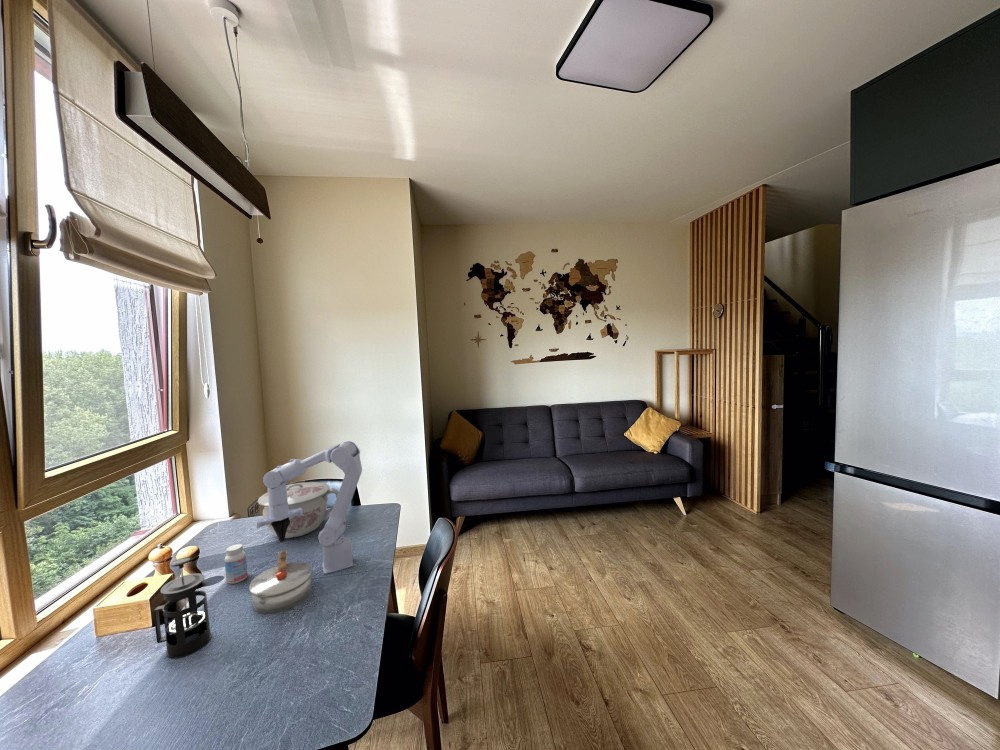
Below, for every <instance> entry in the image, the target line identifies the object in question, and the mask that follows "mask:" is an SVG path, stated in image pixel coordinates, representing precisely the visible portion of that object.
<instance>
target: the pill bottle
mask: <svg viewBox="0 0 1000 750" xmlns="http://www.w3.org/2000/svg"><path fill="white" fill-rule="evenodd" d="M243 549H244V547H243V544H241V543H236V544H233V545H231V546H228V547H227V548H226V549H225V552H226V553H225V554H226V556H225V557H224V569H225V570H224V571H225V581H226V583H227V584H232V585H233V584H238V583H240V582H243V581H244V580H246V579H247V578H248V575H249V574H248V571H249V570H248V562H247V553H246V552H245V551H244V550H243Z"/></svg>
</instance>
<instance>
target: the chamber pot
mask: <svg viewBox="0 0 1000 750" xmlns="http://www.w3.org/2000/svg"><path fill="white" fill-rule="evenodd" d="M286 488H287V500H288V511H289V510H294V509H298V508H301V509H302V511H303V514H302V515H297V516H294V517H290V518H289V520H290V524H289V526H288V528H287V531H286V535H285V539H291V538H292V539H294V538H298V537H302V536H305V535H308V534H309V533H312V532H314V531H315V530H316V529H318V528H319V526H320V525H321V524H322V522H324V520H325V519H326V518H327V516H328V515H329V514H331V513H332V510H333V507H334V504H333V505H332V506H331V507H330V508H328V500H329V497H328V495H330V494H334V495H335V498H336V499H337V496H338V493H339V490H338V489H337V488H334V487H330V485H328V484H327V483H326V482H319V481H318V482H317V481H309V482H307V481H306V482H297V483H292V484H288V485H287V484H286ZM257 503H258V504H259V505H260V506H263V507H264V508H263V510H262V519H263V518H266V517H268V516H270V512H269V501H268V491H267V492H266V493H263V494H261V496H260V497H258V500H257ZM265 527H266V528H267V529H268V530H269V531H270V532H271V534H272V535H274V536H276V537H277V538H278V536H277V534H276V532H275V530H274V528H273V527H272V526H271V524H268V525H265ZM293 537H294V538H293Z"/></svg>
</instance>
